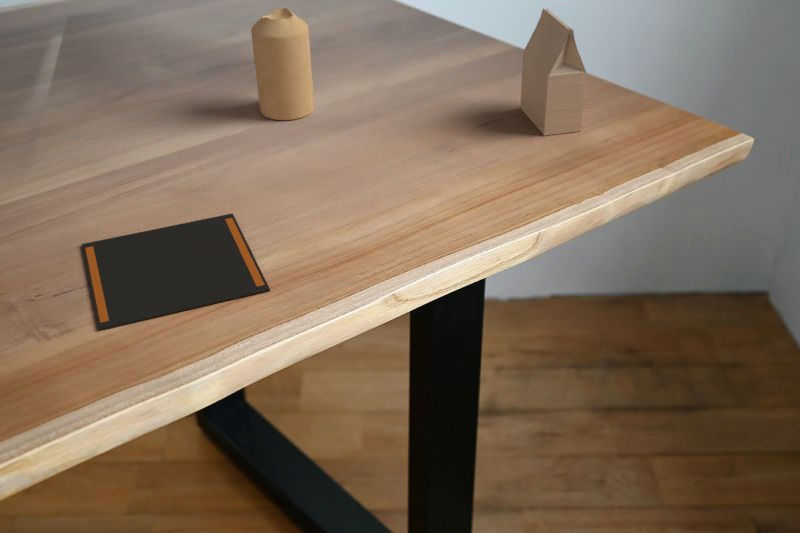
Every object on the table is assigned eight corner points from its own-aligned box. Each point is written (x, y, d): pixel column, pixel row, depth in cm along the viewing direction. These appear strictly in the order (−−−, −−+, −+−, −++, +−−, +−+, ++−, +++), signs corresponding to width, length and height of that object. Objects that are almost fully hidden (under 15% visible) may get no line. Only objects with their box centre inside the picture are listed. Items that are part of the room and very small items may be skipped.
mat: (82, 245, 71) (81, 243, 71) (232, 214, 75) (232, 213, 75) (98, 330, 62) (98, 329, 62) (270, 290, 65) (269, 289, 65)
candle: (275, 96, 96) (266, 1, 90) (323, 102, 94) (316, 6, 88) (250, 117, 91) (238, 18, 86) (300, 124, 90) (291, 24, 84)
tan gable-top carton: (544, 135, 86) (551, 32, 81) (520, 108, 92) (525, 9, 86) (580, 131, 87) (590, 28, 81) (554, 104, 92) (562, 6, 87)
